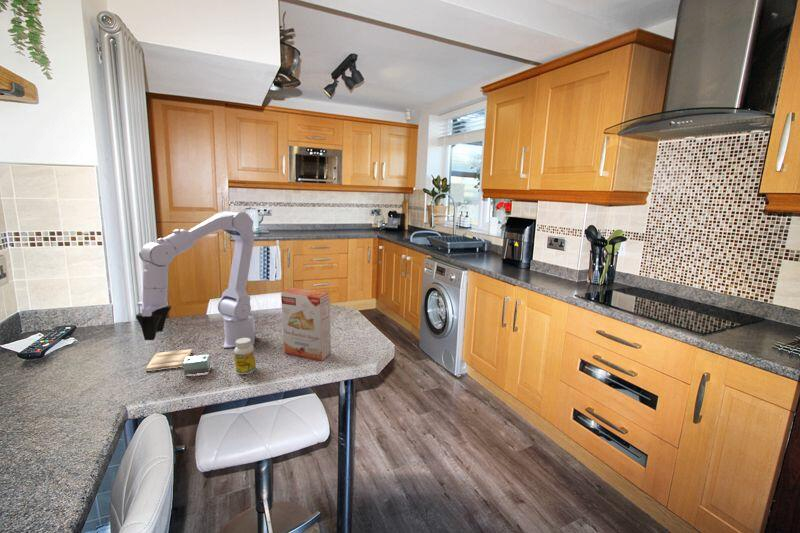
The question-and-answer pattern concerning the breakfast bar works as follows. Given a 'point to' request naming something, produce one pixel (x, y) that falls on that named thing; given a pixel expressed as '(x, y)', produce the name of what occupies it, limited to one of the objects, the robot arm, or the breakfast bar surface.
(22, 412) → the breakfast bar surface
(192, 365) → the housing
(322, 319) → the cracker box
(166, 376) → the breakfast bar surface
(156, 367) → the plate
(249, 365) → the supplement bottle
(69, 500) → the breakfast bar surface
